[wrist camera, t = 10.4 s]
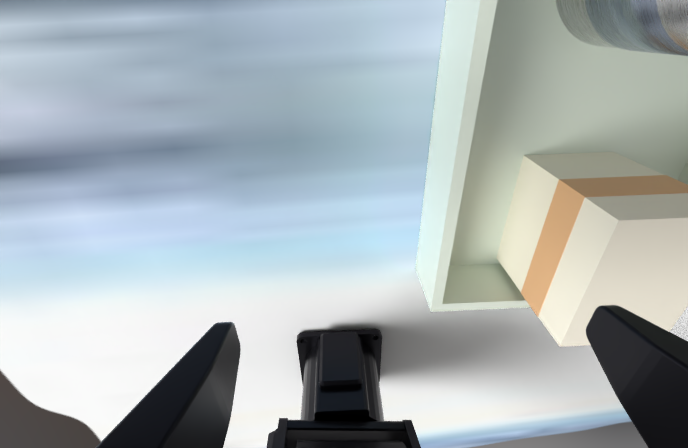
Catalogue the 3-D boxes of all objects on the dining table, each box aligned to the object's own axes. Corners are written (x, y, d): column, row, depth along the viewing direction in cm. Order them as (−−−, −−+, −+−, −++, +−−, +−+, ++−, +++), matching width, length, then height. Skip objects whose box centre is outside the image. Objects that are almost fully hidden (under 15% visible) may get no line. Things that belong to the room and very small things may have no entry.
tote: (632, 259, 23) (685, 300, 20) (415, 268, 23) (430, 312, 19) (883, -206, 12) (1102, -296, 9) (469, -202, 12) (527, -293, 8)
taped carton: (571, 254, 22) (662, 342, 16) (495, 257, 22) (559, 347, 16) (614, 151, 18) (753, 214, 12) (523, 154, 18) (618, 220, 12)
